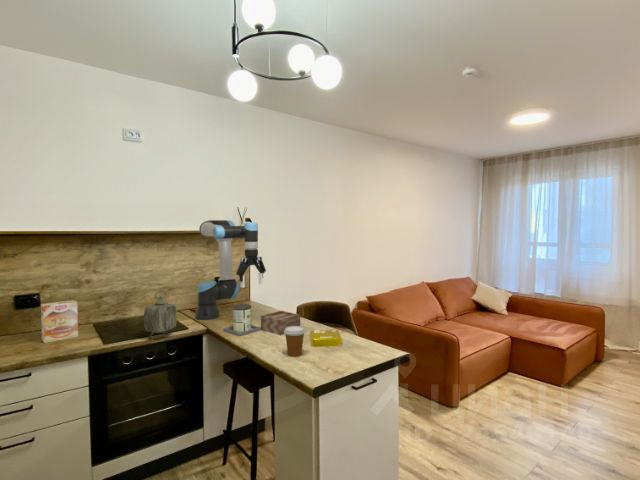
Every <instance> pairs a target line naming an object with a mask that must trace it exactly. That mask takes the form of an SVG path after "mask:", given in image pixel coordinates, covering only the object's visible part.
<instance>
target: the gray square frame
mask: <svg viewBox="0 0 640 480" xmlns="http://www.w3.org/2000/svg"><path fill="white" fill-rule="evenodd" d="M222 330H223V332H224V333H227V334H231V335H234V336H237V337H242V336H246V335H249V334H254V333H256V332H260V331H262V330H261V326H260V327H259V326H257V325H252V324H251V330H248V331H245V332H241V333H239V332H235V331H233V325H232V326H229V327H224V328H223V329H222Z"/></svg>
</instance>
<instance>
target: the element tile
mask: <svg viewBox="0 0 640 480" xmlns="http://www.w3.org/2000/svg"><path fill="white" fill-rule="evenodd" d="M309 335H310V336H309V341H310V345H311V347H313V348H321V347H324V348H325V347H341V345H342V336H341V334H340V331H339V330H337V329H324V330H323V329H319V330H318V329H315V330H311V331H309Z"/></svg>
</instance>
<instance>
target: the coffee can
mask: <svg viewBox="0 0 640 480" xmlns="http://www.w3.org/2000/svg"><path fill="white" fill-rule="evenodd" d="M232 324H233V325H232V326H233V329H232V331H235V332H239V333H241V332H245V331H248V330H252V328H251V325H252V305H251V304H237V305H233V306H232Z"/></svg>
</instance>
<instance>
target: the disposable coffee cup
mask: <svg viewBox="0 0 640 480" xmlns="http://www.w3.org/2000/svg"><path fill="white" fill-rule="evenodd" d="M305 332H306V331H305V328H304V327H303V326H301V325H300V326H290V327H287V328H285V331H284V333H285V334H284V335H285V341H286V342H285V343H286V348H287V349H286V350H287V355H288V356H289V357H300V356H301V355H302V354H303V344H304V336H305V335H304V334H305Z"/></svg>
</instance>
